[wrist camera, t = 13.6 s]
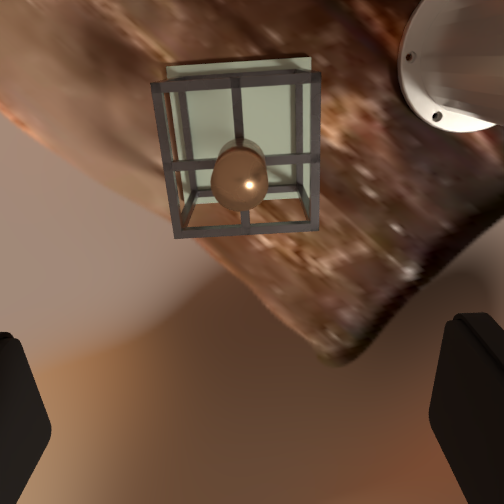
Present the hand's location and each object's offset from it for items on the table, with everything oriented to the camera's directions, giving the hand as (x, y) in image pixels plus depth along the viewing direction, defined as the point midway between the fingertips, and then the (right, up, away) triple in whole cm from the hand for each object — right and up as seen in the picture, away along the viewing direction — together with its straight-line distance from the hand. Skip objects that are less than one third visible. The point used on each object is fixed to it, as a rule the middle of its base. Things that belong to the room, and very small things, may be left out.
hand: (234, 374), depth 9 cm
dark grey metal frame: (0, +13, +27) cm, 30 cm away
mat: (0, +13, +27) cm, 30 cm away
